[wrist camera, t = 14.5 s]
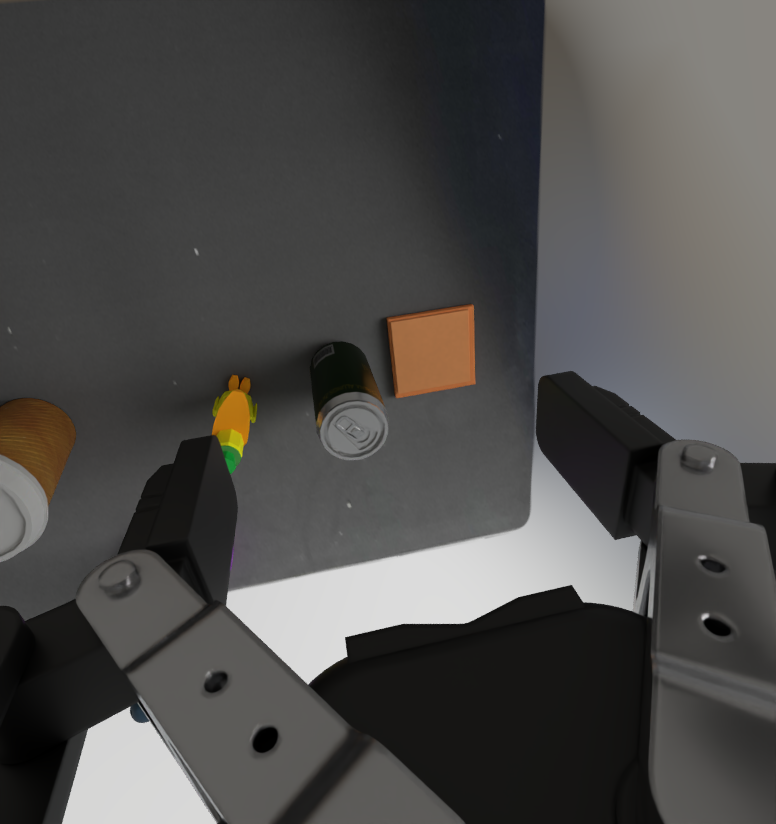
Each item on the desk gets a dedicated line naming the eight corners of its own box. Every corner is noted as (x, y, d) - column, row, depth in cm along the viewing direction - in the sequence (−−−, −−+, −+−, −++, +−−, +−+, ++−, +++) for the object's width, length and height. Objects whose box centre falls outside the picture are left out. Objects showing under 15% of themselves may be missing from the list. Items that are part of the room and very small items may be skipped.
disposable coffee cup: (-57, 412, 41) (-170, 503, 31) (41, 361, 41) (-41, 435, 30) (31, 490, 46) (-42, 591, 36) (119, 445, 46) (71, 534, 35)
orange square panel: (471, 303, 45) (474, 306, 45) (473, 381, 49) (476, 385, 49) (386, 317, 44) (388, 320, 44) (394, 395, 48) (396, 400, 48)
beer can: (297, 369, 45) (301, 437, 35) (335, 326, 44) (351, 383, 34) (341, 402, 48) (357, 474, 37) (379, 362, 46) (406, 426, 36)
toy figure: (225, 345, 43) (206, 410, 33) (267, 354, 44) (261, 419, 34) (214, 412, 46) (193, 491, 35) (253, 419, 47) (244, 498, 36)
